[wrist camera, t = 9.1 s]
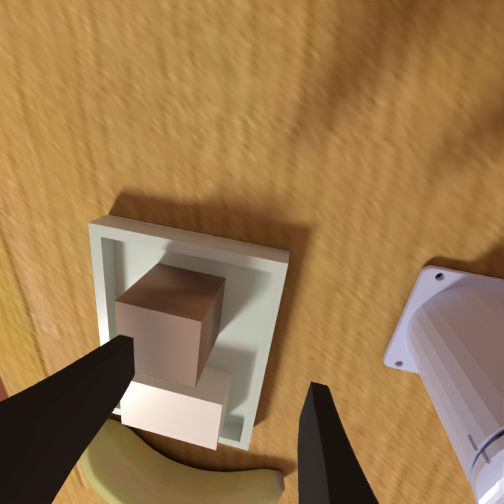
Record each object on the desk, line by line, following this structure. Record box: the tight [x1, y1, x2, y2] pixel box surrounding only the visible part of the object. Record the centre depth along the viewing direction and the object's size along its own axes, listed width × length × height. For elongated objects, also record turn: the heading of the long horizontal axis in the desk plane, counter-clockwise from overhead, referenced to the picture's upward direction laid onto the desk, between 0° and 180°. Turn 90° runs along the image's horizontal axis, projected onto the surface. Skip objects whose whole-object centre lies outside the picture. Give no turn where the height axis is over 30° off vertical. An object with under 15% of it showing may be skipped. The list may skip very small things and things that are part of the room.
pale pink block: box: [120, 366, 232, 450], centre depth 23 cm, size 8×5×3 cm, turn 82°
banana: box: [80, 419, 285, 504], centre depth 27 cm, size 14×6×20 cm
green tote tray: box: [88, 215, 290, 451], centre depth 22 cm, size 13×18×2 cm
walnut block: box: [115, 263, 226, 388], centre depth 19 cm, size 5×5×5 cm
